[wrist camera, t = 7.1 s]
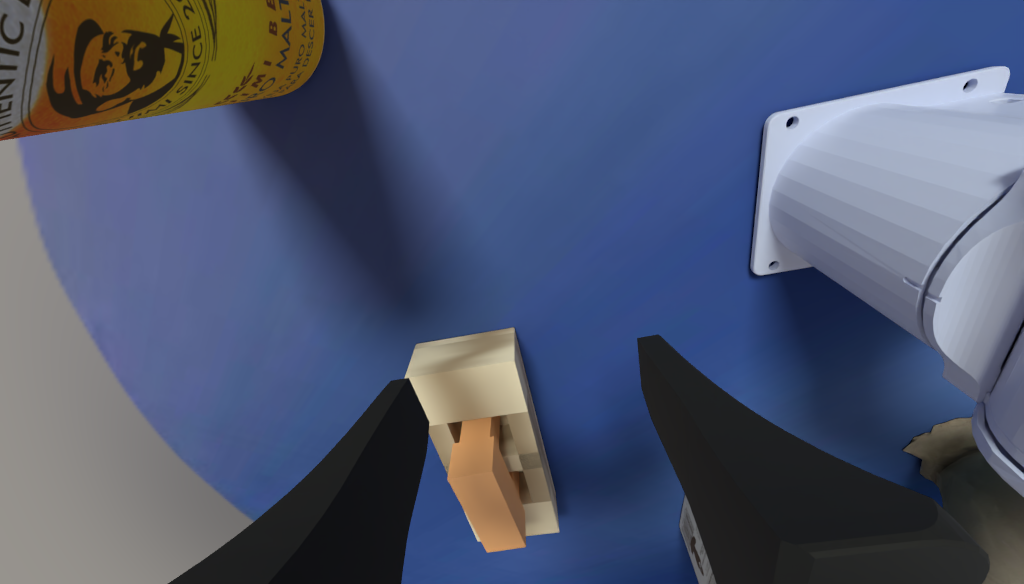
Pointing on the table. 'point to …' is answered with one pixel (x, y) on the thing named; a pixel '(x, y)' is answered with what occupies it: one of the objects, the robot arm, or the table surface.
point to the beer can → (147, 58)
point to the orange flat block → (487, 486)
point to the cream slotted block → (487, 410)
